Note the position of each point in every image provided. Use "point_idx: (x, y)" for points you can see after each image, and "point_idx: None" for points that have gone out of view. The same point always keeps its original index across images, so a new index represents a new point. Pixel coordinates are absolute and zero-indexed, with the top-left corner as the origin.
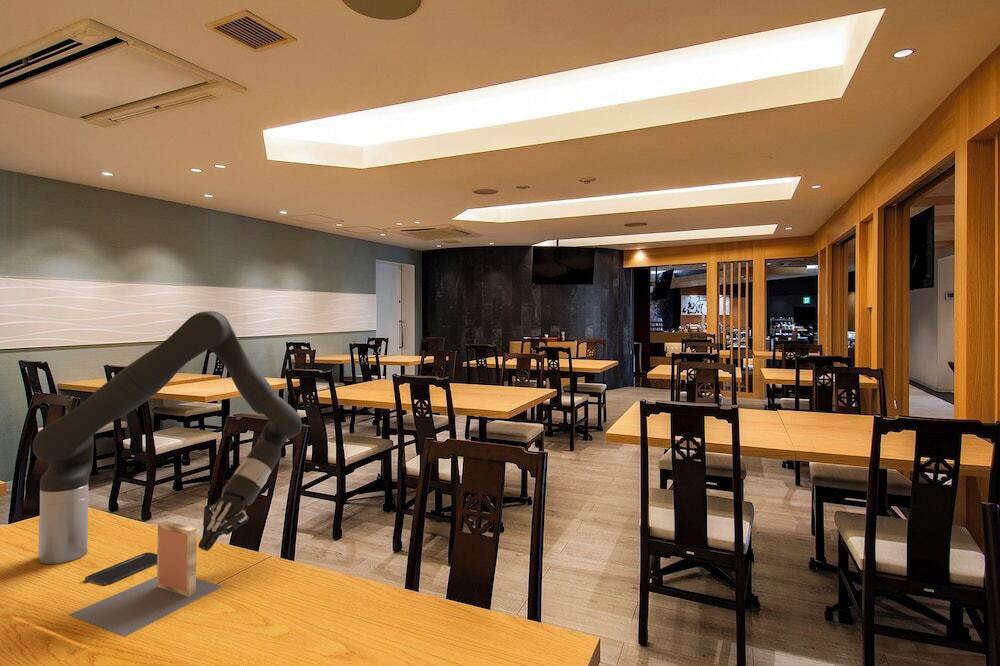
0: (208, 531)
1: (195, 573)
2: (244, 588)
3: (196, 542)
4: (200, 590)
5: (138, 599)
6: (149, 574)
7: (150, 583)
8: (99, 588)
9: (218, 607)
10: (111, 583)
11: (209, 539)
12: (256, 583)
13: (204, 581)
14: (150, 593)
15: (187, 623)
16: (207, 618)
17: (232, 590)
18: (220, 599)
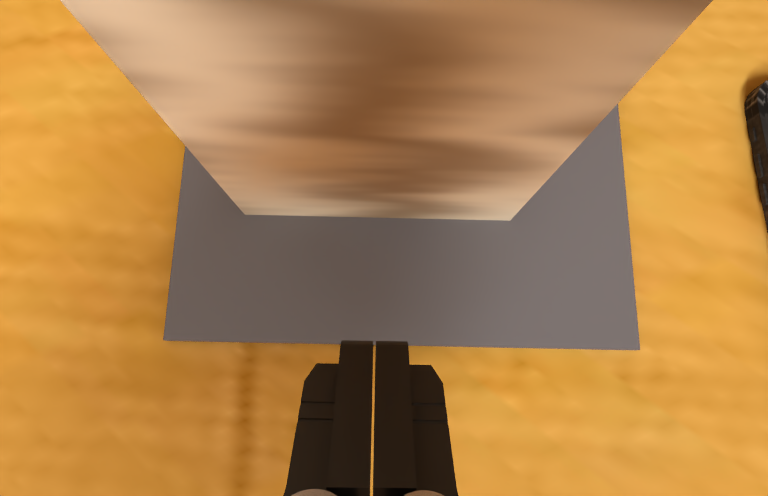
0: (397, 481)
1: (208, 168)
2: (41, 393)
3: (84, 27)
4: (248, 249)
5: None
6: (712, 279)
7: (576, 190)
8: (763, 72)
9: (32, 179)
10: (752, 105)
11: (329, 424)
12: (12, 478)
13: (317, 335)
14: None
15: (67, 29)
16: (9, 90)
17: (94, 344)
18: (84, 241)
